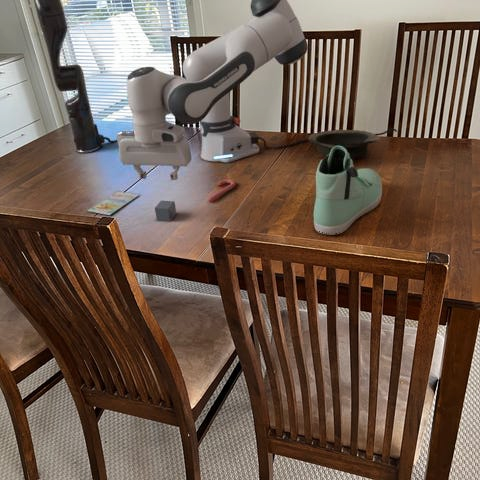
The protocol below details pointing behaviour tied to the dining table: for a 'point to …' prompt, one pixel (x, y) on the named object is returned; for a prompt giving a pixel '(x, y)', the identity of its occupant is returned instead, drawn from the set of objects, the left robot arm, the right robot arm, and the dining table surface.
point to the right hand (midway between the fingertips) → (158, 178)
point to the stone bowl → (343, 141)
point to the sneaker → (343, 192)
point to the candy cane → (222, 189)
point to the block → (165, 210)
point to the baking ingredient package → (113, 203)
